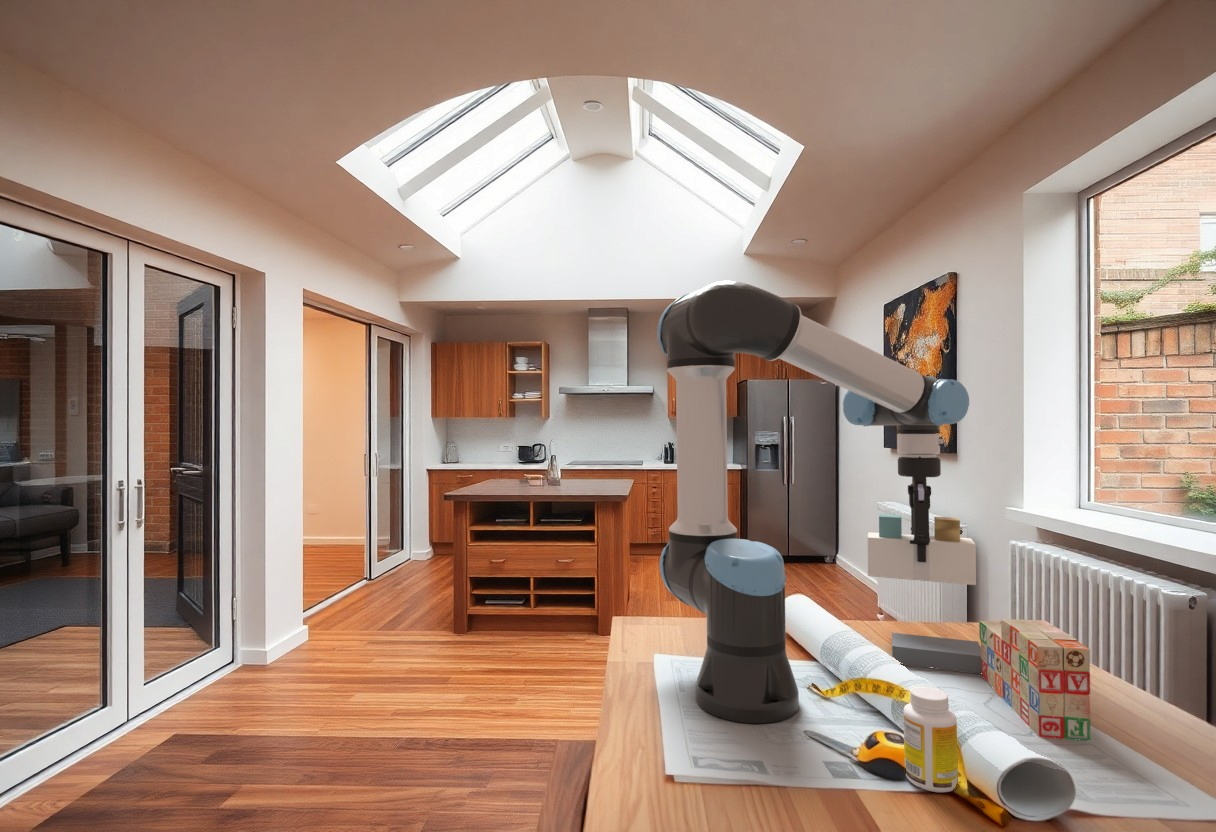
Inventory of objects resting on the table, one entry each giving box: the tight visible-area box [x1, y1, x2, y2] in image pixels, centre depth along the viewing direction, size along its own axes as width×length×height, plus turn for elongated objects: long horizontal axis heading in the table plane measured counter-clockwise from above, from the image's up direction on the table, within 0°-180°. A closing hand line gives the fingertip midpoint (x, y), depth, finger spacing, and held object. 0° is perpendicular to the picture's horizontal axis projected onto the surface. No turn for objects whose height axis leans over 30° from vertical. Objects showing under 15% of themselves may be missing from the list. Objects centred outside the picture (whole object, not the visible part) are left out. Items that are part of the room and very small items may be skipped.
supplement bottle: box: [902, 686, 959, 793], centre depth 75 cm, size 6×6×10 cm
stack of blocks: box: [978, 618, 1092, 741], centre depth 95 cm, size 21×6×12 cm, turn 169°
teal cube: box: [878, 513, 903, 538], centre depth 127 cm, size 4×4×4 cm
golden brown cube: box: [933, 516, 961, 542], centre depth 123 cm, size 4×4×4 cm
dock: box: [891, 632, 982, 674], centre depth 113 cm, size 14×8×3 cm, turn 67°
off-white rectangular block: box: [867, 531, 977, 586], centre depth 125 cm, size 18×7×8 cm, turn 67°
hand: (920, 574), depth 125 cm, fingers closed on off-white rectangular block, 7 cm apart
